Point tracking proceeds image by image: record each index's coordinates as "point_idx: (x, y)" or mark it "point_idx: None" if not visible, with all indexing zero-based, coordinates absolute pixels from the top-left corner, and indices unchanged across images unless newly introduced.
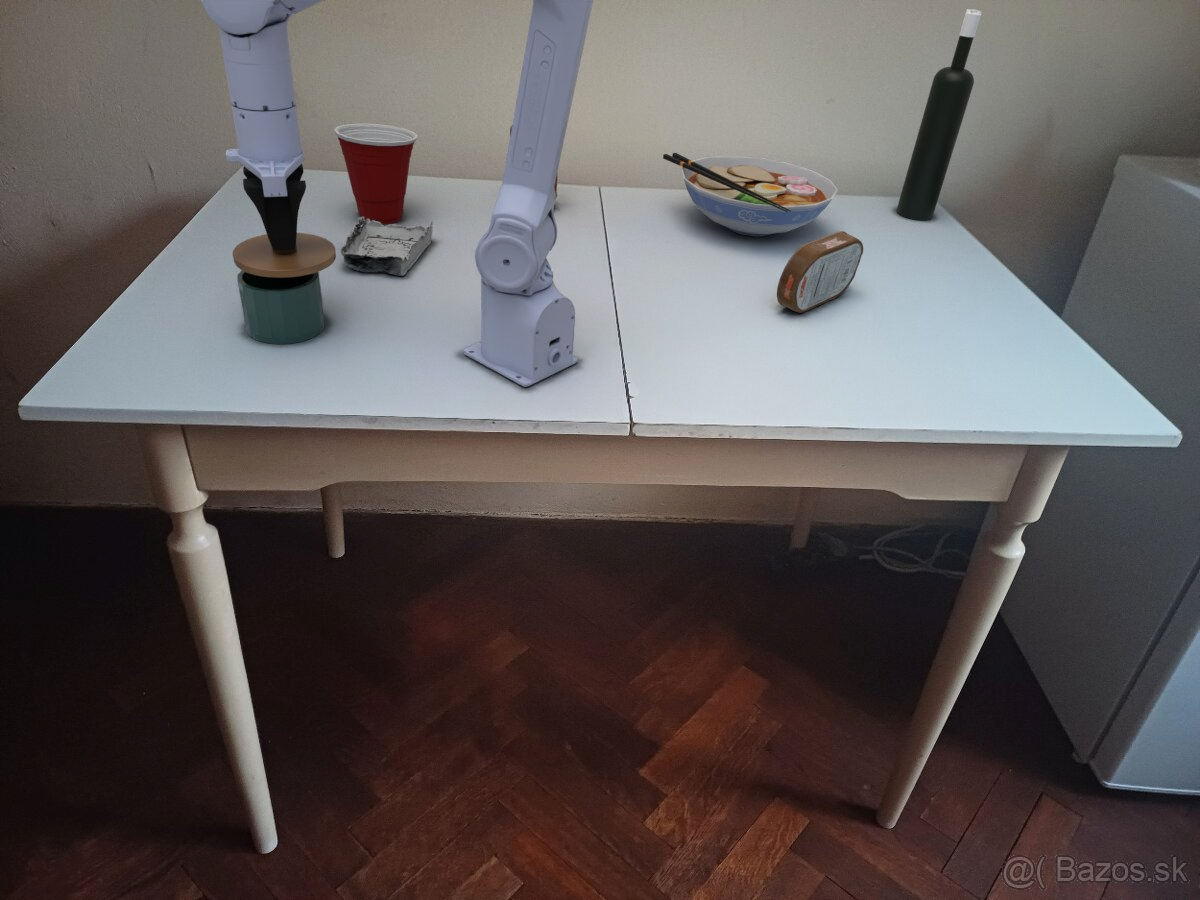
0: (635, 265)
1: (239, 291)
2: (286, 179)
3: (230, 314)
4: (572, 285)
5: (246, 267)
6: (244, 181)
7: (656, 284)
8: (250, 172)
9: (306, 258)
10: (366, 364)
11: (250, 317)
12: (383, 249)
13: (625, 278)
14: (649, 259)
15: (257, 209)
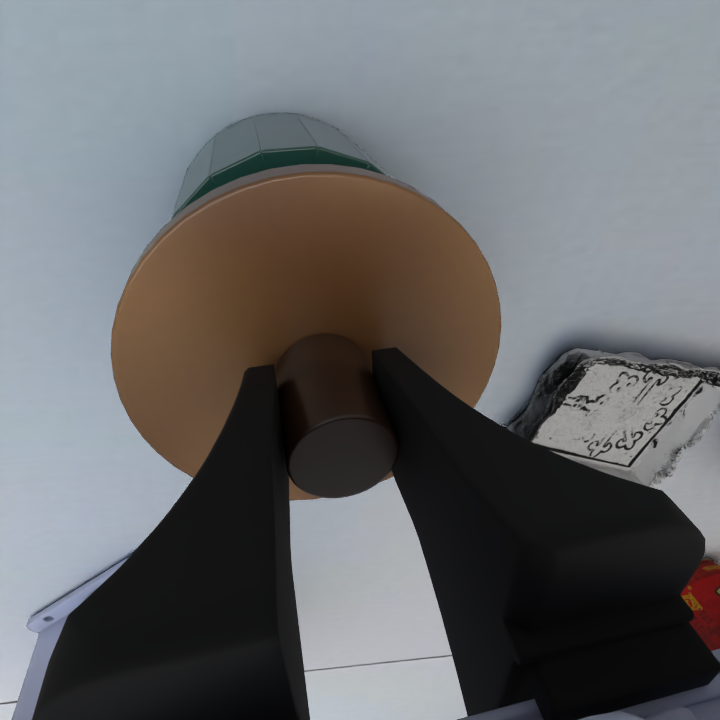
0: (442, 674)
1: (256, 142)
2: (469, 650)
3: (387, 51)
4: (396, 631)
5: (151, 245)
6: (190, 669)
7: (379, 692)
8: (536, 579)
9: None
10: (87, 407)
11: (204, 156)
12: (634, 401)
13: (405, 670)
14: (456, 682)
15: (168, 514)
